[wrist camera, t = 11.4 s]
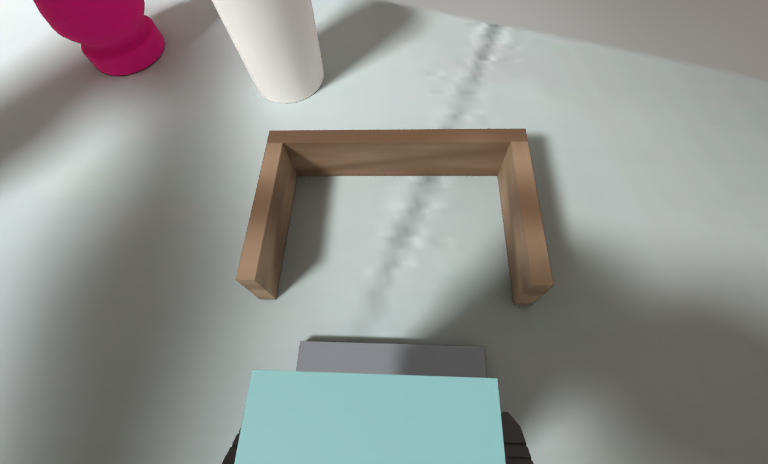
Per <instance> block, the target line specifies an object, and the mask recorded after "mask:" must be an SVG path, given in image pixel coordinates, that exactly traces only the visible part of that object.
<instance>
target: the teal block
mask: <svg viewBox="0 0 768 464" xmlns="http://www.w3.org/2000/svg"><path fill="white" fill-rule="evenodd" d="M234 464H506V462H505V452H504V442H503V431H502V421H501V410H500V400H499V390H498V379H497V378H473V377H444V376H415V375H386V374H358V373H329V372H300V371H271V370H252V373H251V378H250V384H249V389H248V394H247V400H246V405H245V410H244V415H243V421H242V426H241V431H240V436H239V442H238V447H237V452H236V457H235V463H234Z"/></svg>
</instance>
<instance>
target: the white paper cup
mask: <svg viewBox="0 0 768 464" xmlns="http://www.w3.org/2000/svg"><path fill="white" fill-rule="evenodd" d="M212 2H213V4H214V6H215V8H216V10H217V12H218V14H219V16H220V17H221V19H222V21H223V23H224V25H225V27H226V29H227V31H228V33H229V35H230V37H231V39H232V41H233V43H234V45H235V47H236V49H237V51H238V52H239V54H240V56H241V58H242V60H243V62H244V64H245V66H246V68H247V70H248V72H249V74H250V76H251V78H252V80H253V82H254V84H255V86H256V88H257V90H258V92H259V93H260V95H261V96H262V97H264V98H265V99H267V100H268V101H271V102H275V103H280V104H286V103H295V102H298V101H301V100H303V99H306V98H308V97H310V96H311V95H312V94H314V93H315V92H316V91H317V90H318V89H319V88H320V86H321V84H322V82H323V81H324V69H323V63H322V58H321V52H320V47H319V41H318V36H317V30H316V25H315V19H314V14H313V8H312V3H311V0H212Z"/></svg>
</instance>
